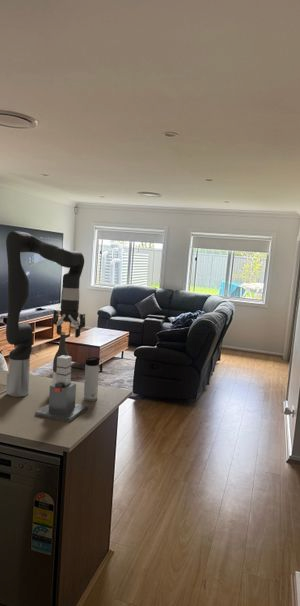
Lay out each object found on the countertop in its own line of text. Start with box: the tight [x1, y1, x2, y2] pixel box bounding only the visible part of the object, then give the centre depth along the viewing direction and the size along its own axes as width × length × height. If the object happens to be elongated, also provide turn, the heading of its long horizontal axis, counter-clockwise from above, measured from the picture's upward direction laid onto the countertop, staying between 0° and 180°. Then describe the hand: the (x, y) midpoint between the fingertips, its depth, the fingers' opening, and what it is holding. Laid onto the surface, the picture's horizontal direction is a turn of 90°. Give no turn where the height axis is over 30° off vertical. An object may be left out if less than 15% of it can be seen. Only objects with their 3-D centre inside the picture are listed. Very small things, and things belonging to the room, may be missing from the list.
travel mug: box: [83, 356, 101, 402], centre depth 192 cm, size 6×7×20 cm
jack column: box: [56, 355, 72, 387], centre depth 174 cm, size 5×5×18 cm
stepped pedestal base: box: [34, 382, 88, 423], centre depth 175 cm, size 16×16×13 cm
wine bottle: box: [51, 330, 70, 385], centre depth 199 cm, size 8×8×30 cm
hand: (68, 336), depth 177 cm, fingers open, 8 cm apart
